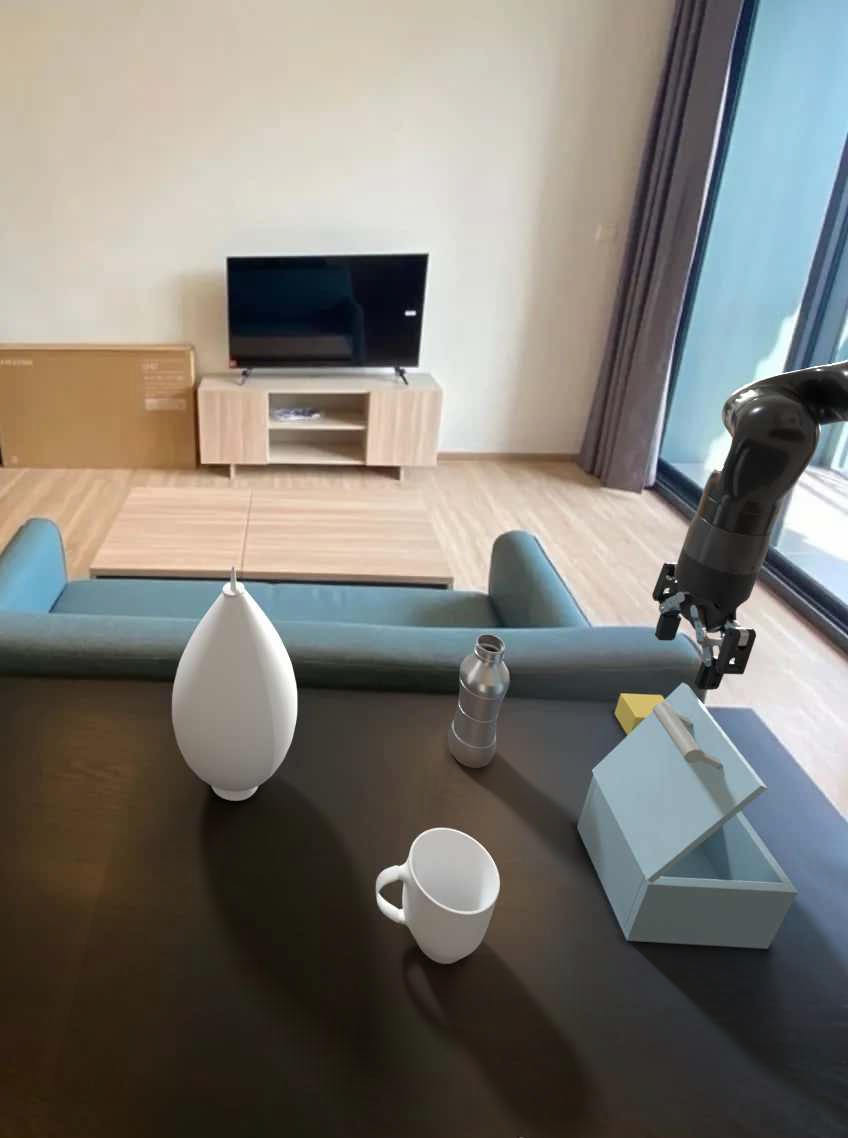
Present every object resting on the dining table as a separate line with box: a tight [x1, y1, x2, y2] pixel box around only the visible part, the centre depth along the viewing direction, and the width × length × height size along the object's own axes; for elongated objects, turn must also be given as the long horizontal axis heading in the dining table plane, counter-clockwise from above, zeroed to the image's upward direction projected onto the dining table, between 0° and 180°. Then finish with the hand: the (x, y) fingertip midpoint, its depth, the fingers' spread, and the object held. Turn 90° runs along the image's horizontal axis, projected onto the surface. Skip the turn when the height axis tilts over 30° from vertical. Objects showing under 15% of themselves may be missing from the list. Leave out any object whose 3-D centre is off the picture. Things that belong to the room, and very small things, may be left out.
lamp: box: [171, 564, 298, 802], centre depth 81 cm, size 16×16×35 cm
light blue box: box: [577, 774, 799, 950], centre depth 73 cm, size 15×13×10 cm
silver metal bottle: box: [447, 633, 511, 769], centre depth 88 cm, size 6×7×20 cm
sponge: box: [614, 693, 666, 736], centre depth 95 cm, size 6×4×4 cm
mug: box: [375, 827, 501, 965], centre depth 68 cm, size 12×9×12 cm
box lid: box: [591, 682, 768, 882], centre depth 68 cm, size 16×13×5 cm
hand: (683, 661), depth 81 cm, fingers open, 8 cm apart
